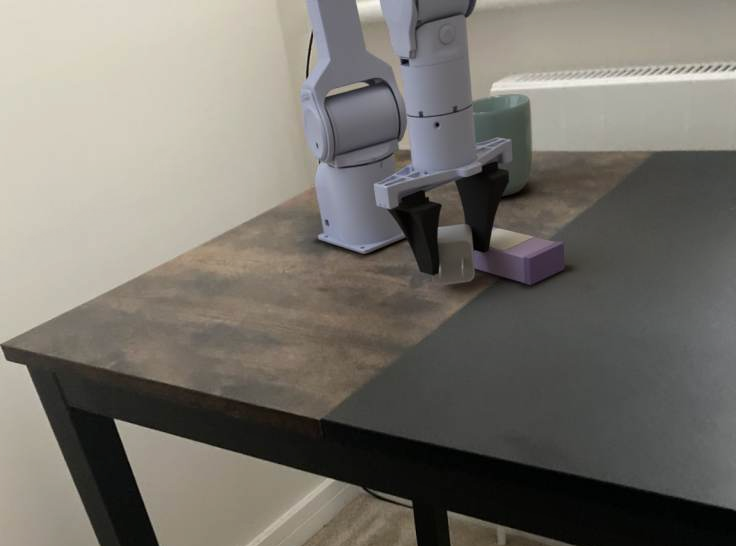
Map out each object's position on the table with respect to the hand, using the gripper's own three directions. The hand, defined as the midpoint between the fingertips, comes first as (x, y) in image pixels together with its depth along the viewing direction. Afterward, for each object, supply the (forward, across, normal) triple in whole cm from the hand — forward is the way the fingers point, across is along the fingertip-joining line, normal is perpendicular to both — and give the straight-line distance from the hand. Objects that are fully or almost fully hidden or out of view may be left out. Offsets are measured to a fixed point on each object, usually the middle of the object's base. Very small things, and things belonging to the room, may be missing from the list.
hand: (454, 261), depth 84 cm
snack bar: (+2, +6, 0) cm, 6 cm away
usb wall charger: (+2, -1, -1) cm, 2 cm away
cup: (+3, +22, +17) cm, 28 cm away
